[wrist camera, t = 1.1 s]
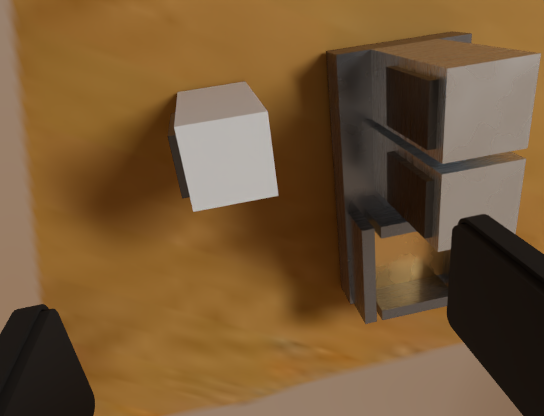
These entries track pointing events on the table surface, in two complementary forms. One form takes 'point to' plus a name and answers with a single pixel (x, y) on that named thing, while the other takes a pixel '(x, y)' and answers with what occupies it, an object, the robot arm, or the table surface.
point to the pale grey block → (222, 146)
